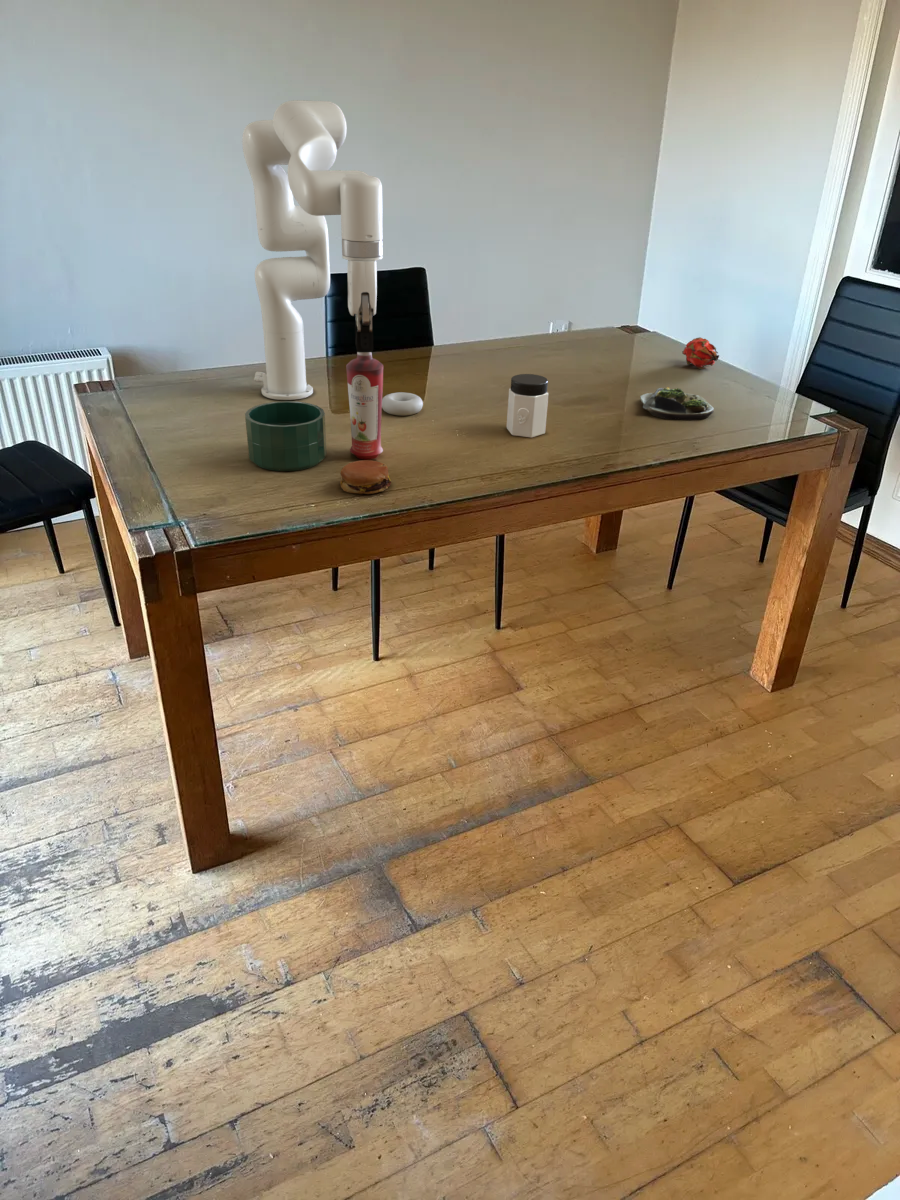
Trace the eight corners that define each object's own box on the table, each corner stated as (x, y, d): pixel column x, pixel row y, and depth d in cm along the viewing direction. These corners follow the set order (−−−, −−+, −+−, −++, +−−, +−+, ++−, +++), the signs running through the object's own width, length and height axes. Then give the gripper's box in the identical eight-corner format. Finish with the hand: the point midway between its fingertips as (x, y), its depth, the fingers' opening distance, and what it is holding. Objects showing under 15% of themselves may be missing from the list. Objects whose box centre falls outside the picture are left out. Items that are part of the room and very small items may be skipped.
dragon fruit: (684, 365, 256) (710, 382, 247) (670, 350, 250) (696, 367, 242) (704, 341, 253) (731, 357, 245) (690, 326, 248) (717, 342, 239)
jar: (501, 434, 195) (505, 381, 189) (510, 423, 202) (514, 371, 196) (541, 439, 193) (545, 386, 187) (548, 428, 200) (553, 376, 194)
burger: (331, 483, 168) (330, 461, 166) (373, 474, 173) (372, 452, 171) (357, 502, 162) (356, 478, 159) (399, 491, 166) (399, 468, 164)
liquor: (344, 460, 179) (340, 321, 165) (354, 448, 185) (350, 312, 171) (379, 463, 178) (378, 323, 164) (387, 451, 184) (386, 315, 170)
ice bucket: (234, 464, 175) (229, 419, 170) (274, 440, 188) (271, 397, 183) (302, 477, 171) (300, 431, 166) (339, 451, 183) (337, 407, 178)
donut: (376, 415, 204) (417, 419, 202) (375, 401, 202) (417, 404, 201) (387, 403, 213) (427, 406, 211) (386, 389, 211) (427, 392, 209)
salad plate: (627, 394, 224) (630, 376, 221) (696, 395, 225) (699, 378, 222) (644, 419, 207) (647, 400, 205) (718, 421, 208) (722, 402, 206)
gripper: (339, 242, 167) (342, 339, 177) (344, 257, 154) (347, 361, 163) (378, 242, 169) (379, 339, 178) (386, 257, 155) (387, 360, 164)
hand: (364, 348), depth 170 cm, fingers closed on liquor, 2 cm apart
